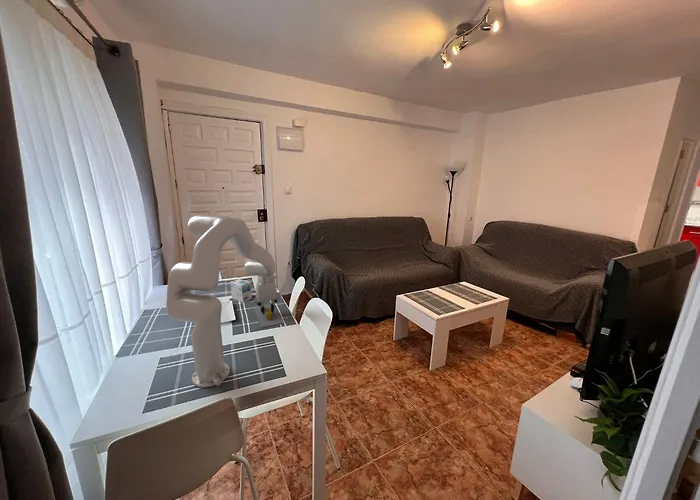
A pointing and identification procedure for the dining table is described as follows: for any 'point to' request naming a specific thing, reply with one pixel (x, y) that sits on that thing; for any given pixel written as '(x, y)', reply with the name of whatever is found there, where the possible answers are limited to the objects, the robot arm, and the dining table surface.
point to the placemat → (263, 320)
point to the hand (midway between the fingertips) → (267, 312)
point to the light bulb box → (241, 290)
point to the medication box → (267, 312)
